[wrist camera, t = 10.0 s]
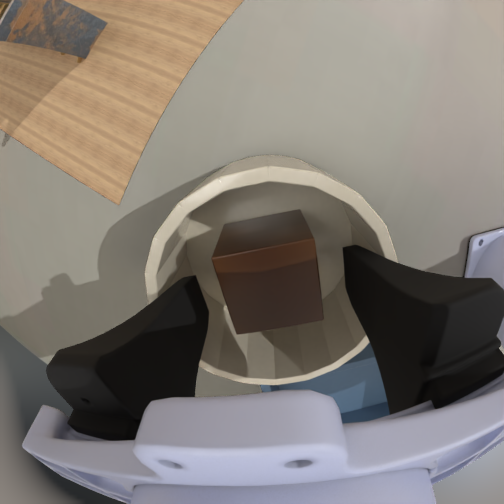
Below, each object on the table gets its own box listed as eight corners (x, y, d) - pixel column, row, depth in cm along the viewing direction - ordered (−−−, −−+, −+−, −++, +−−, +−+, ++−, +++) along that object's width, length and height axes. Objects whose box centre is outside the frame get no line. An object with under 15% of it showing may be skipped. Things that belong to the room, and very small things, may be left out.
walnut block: (300, 208, 13) (314, 237, 10) (310, 276, 15) (324, 320, 11) (223, 224, 14) (210, 258, 10) (241, 288, 16) (236, 335, 12)
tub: (421, 305, 17) (442, 334, 14) (399, 396, 22) (408, 421, 18) (258, 342, 18) (257, 379, 15) (283, 422, 23) (284, 451, 20)
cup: (344, 140, 12) (393, 147, 7) (359, 301, 16) (387, 361, 11) (158, 180, 14) (108, 209, 9) (210, 327, 18) (195, 392, 13)
